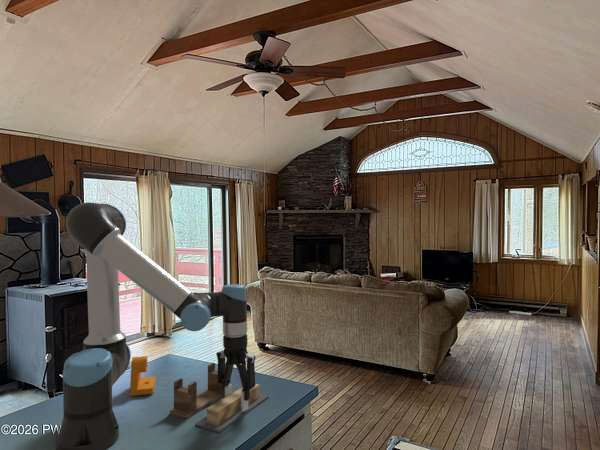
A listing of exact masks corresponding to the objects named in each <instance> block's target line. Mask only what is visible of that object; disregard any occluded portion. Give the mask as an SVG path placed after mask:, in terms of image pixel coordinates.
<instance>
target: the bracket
mask: <svg viewBox="0 0 600 450" xmlns="http://www.w3.org/2000/svg"><path fill="white" fill-rule="evenodd" d="M225 368H226V365H225ZM183 383H184V382H183V377H180V378H178V379H176V380H173V408H172V409H169V414H171V415H173V416H176V417H177V416H178V417H180V418H184V419H189V418H190V417H192V416H194V415H195V414H196V413H199V412H201V411H202V410H203V409H205V408H207V407H208V406H209V407H210V406H211V405H212V404H214V403H215V402H218V400H220V399H223V398H224V397H225V396H224V395H223V386H222V384H221V383H218V369H216V362H211V363H210V364H207V389H206V390H204V391H202V392H200V393H199V394H198V392H197V391H198V390H197V386H198V385H197V384H198V383H197V381H192V382H191V383H189V384H187V387H186V386H183V385H184V384H183Z"/></svg>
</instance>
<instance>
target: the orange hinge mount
mask: <svg viewBox="0 0 600 450" xmlns="http://www.w3.org/2000/svg"><path fill="white" fill-rule="evenodd" d="M131 357H132V358H131V361H130V363H131V365H130V381H129V382H130V383H129V386H130V387H129V393H130V394H129V396H143V395H151V394H154V392H155V389H156V383H157V382H156V379H157V378H156V376H146V377H142V373H147V371H148V355H144V356H142V355H141V356H131Z"/></svg>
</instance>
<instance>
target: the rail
mask: <svg viewBox="0 0 600 450" xmlns="http://www.w3.org/2000/svg"><path fill="white" fill-rule="evenodd" d="M260 386H261V384H258V383H255V387H254V388H252V389H250V399H249V400H248V404H250V403H251V402H253V401H254V400H255V399H257V398H258V397H260V394H261V391H260V390H261V387H260ZM242 389H243V387H242V386H241V387H240V388H238V389H237V390H235V391H234V392H233V391H232V394H230V395H229V396H227V397H225V396H224V397H223V398H221V400H220V399H219V401H216V403H213V405H212V404H211V405H210V406H209V407H208V408H207V407H206V416H207V423H211V424H214V425H217V426H218V425H219V424H221V423H222V422H224V421H225V420H226V419H228V418H229V417H231V416H232V415H234V414H235V413H237V412H238V411H239V410H241V390H242Z"/></svg>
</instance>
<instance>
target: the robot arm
mask: <svg viewBox="0 0 600 450" xmlns="http://www.w3.org/2000/svg"><path fill="white" fill-rule="evenodd" d="M65 226H66V227H65V228H66V231H67V232H68V235H69V236H70V237H71V238H72V239H73V240H74V241H75V242H76V243H77V244H78V245H79V250H80V251H81V252H82V253H84V254H85V260H86V261H85V264H86V265H85V266H86V284H87V285H86V286H87V287H86V288H87V319H88V335H87V336H86V337H85V338H84V339H83V350H80V351H78V352H75V353H72V354H70V356H69V357H68V358H66V360H65V362H64V364H63V369H62V370H63V371H62V383H63V384H62V390H63V392H62V393H63V396H62V397H63V407H62V408H63V417H62V421H61V425H60V426H59V427H60V428H59V431H58V434H57V436H56V439H55V450H107V449H109V448H110V447H111V446H112V445H114V444H115V443H116V442H117V441H118V439H119V438H120V426H119V424H118V421H117V418H116V416H115V413H114V410H113V386H114V384H115V383H116V382H117V381H118V380H119V378H120V377H121V376H123V375H124V373H125V372H126V371H127V369H128V367H129V364H130V363H131V360H132V358H131V357H132V355H131V354H132V351H131V349H130V346H129V345H128V343H127V336H126V334H125V333H124V332H123V331H121V317H120V316H121V315H120V313H121V312H120V289H119V288H120V285H119V284H120V283H119V282H120V281H119V272H120V273H121V274H123V275H124V276H125V277H127V278H128V279H129V280H131V282H133V283H134V284H135V285H137V286H138V287H139V288H141V289H142V290H143V291H145V292H146V293H147V294H148V295H149V296H150V297H152V298H153V299H155V300H156V302H158V303H160V304H161V305H162V306H164V307H165V308H166V309H167V310H168V311H169V312H171V313H172V314H174V315H175V316H176V317H177V318H178V319H179V320H180V323H181V324H182V326H183V328H185V330H188V331H189V332H198V331H201V330H203V329H204V328H205V327H206V326H207V325H208V324H209V323H210V320H211V318H212V317H213V318H214V317H222V334H223V337H222V341H223V342H222V344H223V345H222V346H223V349H221V350H220V351H218V352H216V353H215V354H216V359H217V371H218V383H221V384H222V386H223V395H224V396H223V397H224V398H225V397H227V396H229V395H230V394H232V393H233V384H231V383H232V381H231V379H232V375H233V370H234V366H236V369H237V370H238V375H239V377H240V383H241V388H242V387H243V389H242V390H241V412H244V411H245V410H247V409H248V400H249V399H250V389H252V388H254V387H255V384H256V370H255V366H256V365H255V362H256V359H257V358H256V355H251V354H249V353H248V352H249V351H248V350H247V349H248V345H249V344H248V334H247V333H248V297H247V296H248V295H247V288H246V286H245V285H243V284H239V283H237V284H236V283H232V284H231V283H230V284H225V285H223V286H222V288H221V291H217V292H215V291H214V292H212V291H211V292H196V291H195V292H192V291H191V290H190V289H189V288H188V287H187V286H185V285H184V284H183V283H181V282H180V281H179V280H178V279H177V278H175V276H173V275H171V274H170V273H169V272H168V271H167V270H166V269H164V268H163V267H161V265H159V264H158V263H156V262H155V261H154V260H153V259H152V258H150V256H148V255H147V254H146V253H144V252H143V251H142V250H140V249H139V248H138V247H137V246H135V244H133V243H132V242H130V241H129V239H127V238H125V236H123V235H124V234H125V232H126V229H127V220H126V218H125V215H124V213H123V212H122V211H121V210H120V209H118V207H115V206H114V205H111V204H108V203H97V202H82V203H79V204H78V205H76V206H75V207H73V208H71V210H70V211H69V213H68V214H67V216H66V220H65ZM225 366H226V368H225Z"/></svg>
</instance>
